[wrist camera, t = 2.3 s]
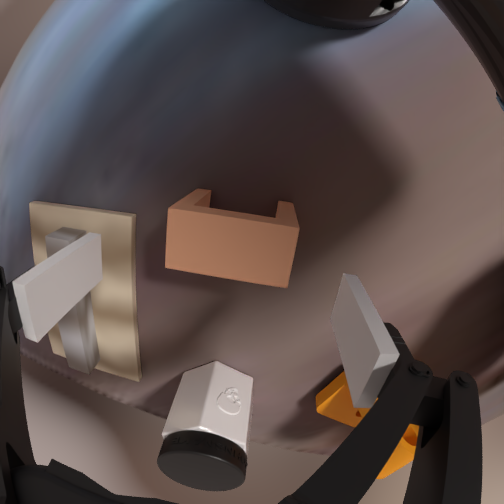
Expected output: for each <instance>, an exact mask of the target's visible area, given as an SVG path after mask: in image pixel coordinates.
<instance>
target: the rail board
mask: <svg viewBox="0 0 504 504" xmlns="http://www.w3.org/2000/svg"><path fill="white" fill-rule="evenodd" d="M29 211H30V226H31V237H32V247H33V255H34V263H35V266H36V265H38V264H39V263H41V262H42V261H44V260H46V259H47V258H49V257H50V256H52V255H53V254H55V253H57V252H58V251H60V250H61V249H63V248H65V247H66V246H68V245H69V244H71V243H73V242H74V241H76V240H78V239H79V238H81V237H83V236H84V235H86V234H88V233H89V232H91V233H97V234H101V254H102V274H103V279H102V280H101V281H100V282H99V283H98V284H97V285H96V286H95V287H94V288H93V289H92V290H90V291H89V292H88V293H87V294H86V295H85V296H84V297H83V298H82V299H81V300H80V301H79V302H78V303H77V304H76V305H75V306H74V307H73V308H72V309H71V310H70V311H68V312H67V313H66V314H65V315H64V316H63V317H62V318H61V319H60V320H59V321H58V322H57V323H56V324H55V325H54V326H53V327H52V328H51V329H50V330H49V331H48V335H49V339H50V343H51V346H52V350H53V353H55V354H57V355H60V356H62V357H65V358H66V359H67V362H68V366H69V367H70V368H72V369H75V370H78V371H80V372H83V373H86V374H89V375H90V374H91V372H92V371H93V369H94V368H96V369H99V370H102V371H105V372H108V373H111V374H114V375H117V376H121V377H124V378H127V379H131V380H134V381H138V382H139V381H140V379H141V377H142V372H141V362H140V351H139V339H138V324H137V304H136V263H135V249H136V214H132V213H125V212H118V211H111V210H103V209H96V208H88V207H81V206H73V205H66V204H58V203H50V202H42V201H33V202H30V203H29Z"/></svg>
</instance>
